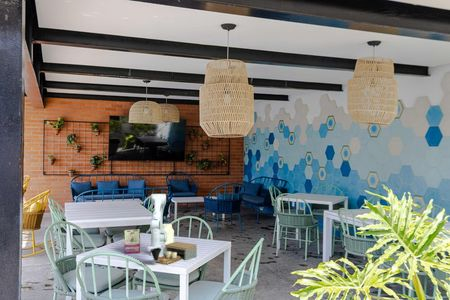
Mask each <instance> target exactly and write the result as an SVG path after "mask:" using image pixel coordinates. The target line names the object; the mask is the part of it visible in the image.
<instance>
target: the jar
mask: <svg viewBox="0 0 450 300" xmlns="http://www.w3.org/2000/svg"><path fill="white" fill-rule="evenodd" d="M162 228H163V229H164V230H166V234H167V241H166V242H165V245H167V244H170V243H173V242H175V230H174V229H173V224H172V223H162Z"/></svg>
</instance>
